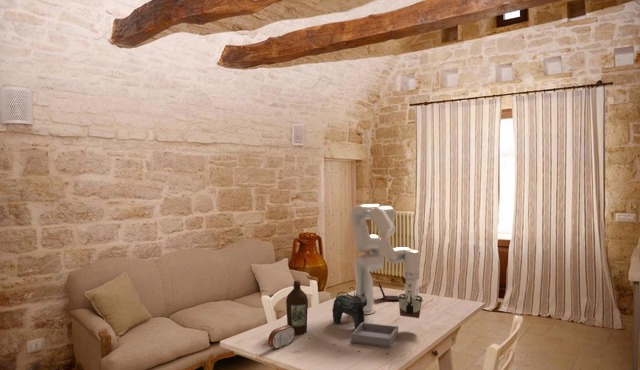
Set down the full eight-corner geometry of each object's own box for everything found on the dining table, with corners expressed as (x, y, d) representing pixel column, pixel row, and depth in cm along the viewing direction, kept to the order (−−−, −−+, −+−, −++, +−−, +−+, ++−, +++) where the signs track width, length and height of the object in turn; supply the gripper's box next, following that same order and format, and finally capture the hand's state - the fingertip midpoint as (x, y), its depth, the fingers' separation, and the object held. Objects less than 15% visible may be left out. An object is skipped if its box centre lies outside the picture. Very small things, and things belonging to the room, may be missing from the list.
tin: (291, 340, 211) (290, 322, 210) (296, 342, 209) (296, 323, 208) (267, 350, 199) (267, 331, 199) (272, 352, 197) (272, 332, 197)
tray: (351, 343, 207) (351, 334, 207) (361, 330, 224) (361, 322, 224) (390, 348, 201) (390, 339, 201) (398, 334, 217) (398, 326, 217)
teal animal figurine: (368, 329, 226) (368, 288, 226) (360, 332, 221) (360, 291, 221) (337, 320, 239) (337, 282, 239) (329, 323, 235) (329, 284, 234)
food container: (423, 315, 226) (424, 295, 226) (422, 318, 220) (423, 298, 220) (398, 311, 230) (399, 292, 230) (396, 315, 224) (397, 295, 224)
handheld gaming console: (399, 302, 274) (399, 285, 274) (379, 301, 275) (379, 285, 275) (397, 297, 284) (397, 281, 283) (377, 297, 284) (377, 281, 284)
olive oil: (284, 329, 226) (284, 279, 225) (305, 327, 228) (305, 277, 228) (288, 336, 216) (287, 284, 215) (310, 334, 218) (309, 282, 217)
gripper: (416, 280, 214) (415, 318, 215) (421, 272, 230) (420, 307, 231) (400, 278, 217) (399, 316, 218) (406, 270, 233) (406, 305, 234)
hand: (410, 311), depth 225 cm, fingers closed on food container, 5 cm apart
